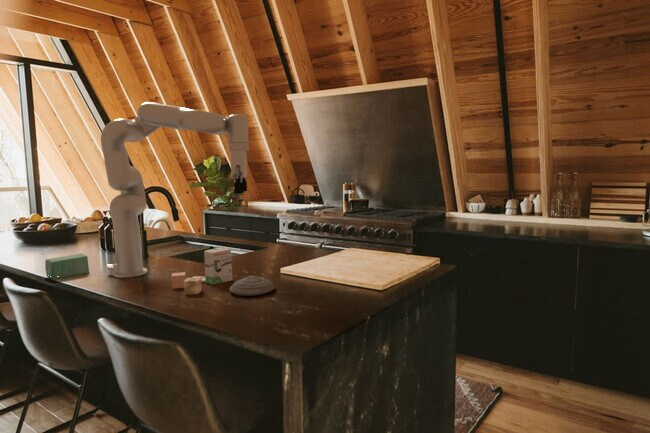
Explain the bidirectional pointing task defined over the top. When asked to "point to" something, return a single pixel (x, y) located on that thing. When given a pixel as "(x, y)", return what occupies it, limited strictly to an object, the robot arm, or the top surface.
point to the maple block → (192, 286)
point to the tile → (201, 278)
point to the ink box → (218, 265)
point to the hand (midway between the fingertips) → (241, 192)
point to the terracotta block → (178, 280)
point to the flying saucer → (252, 286)
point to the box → (66, 266)
